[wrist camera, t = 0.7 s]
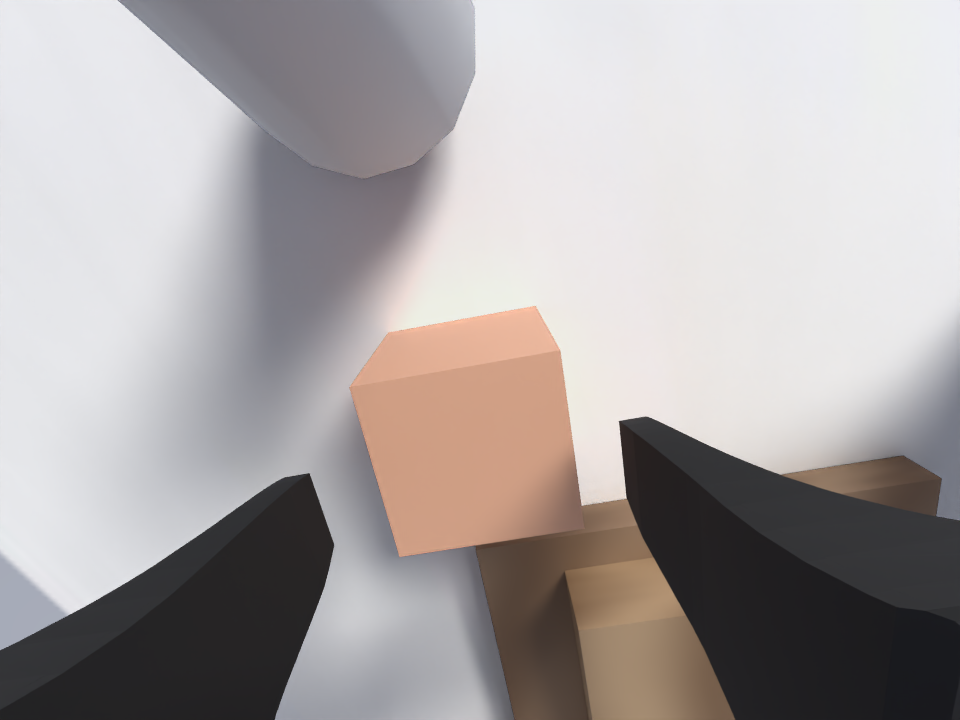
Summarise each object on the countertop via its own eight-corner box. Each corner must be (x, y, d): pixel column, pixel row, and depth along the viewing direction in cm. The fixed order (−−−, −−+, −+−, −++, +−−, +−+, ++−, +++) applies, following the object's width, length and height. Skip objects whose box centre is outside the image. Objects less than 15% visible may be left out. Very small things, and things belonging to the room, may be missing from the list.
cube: (535, 305, 15) (560, 350, 11) (555, 438, 17) (584, 528, 12) (388, 332, 16) (349, 387, 11) (421, 460, 17) (399, 557, 12)
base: (903, 455, 17) (1024, 527, 13) (873, 703, 21) (960, 812, 17) (475, 522, 18) (475, 607, 14) (526, 747, 22) (536, 861, 18)
